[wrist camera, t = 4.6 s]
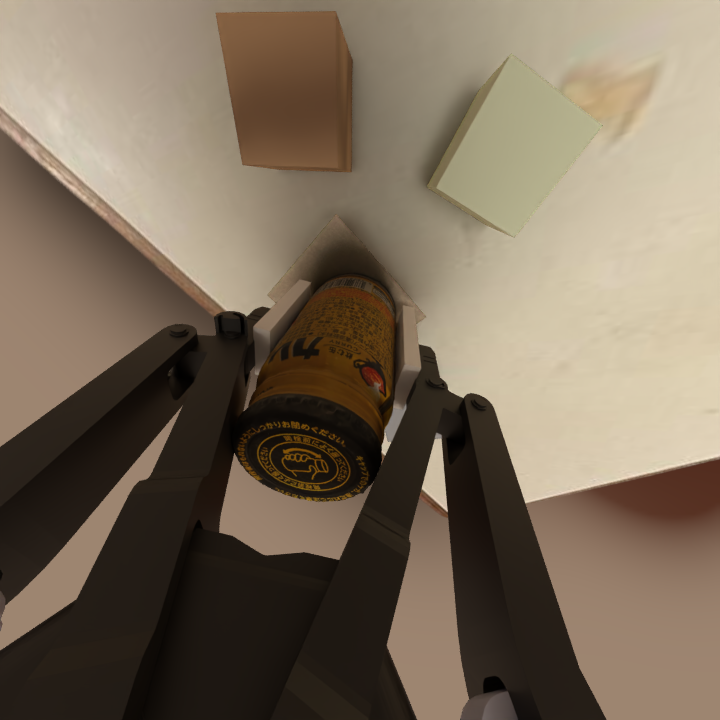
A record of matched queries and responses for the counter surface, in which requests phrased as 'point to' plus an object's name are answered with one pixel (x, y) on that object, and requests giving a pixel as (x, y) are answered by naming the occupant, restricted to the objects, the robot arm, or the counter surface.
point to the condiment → (327, 376)
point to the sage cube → (512, 148)
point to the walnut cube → (289, 89)
